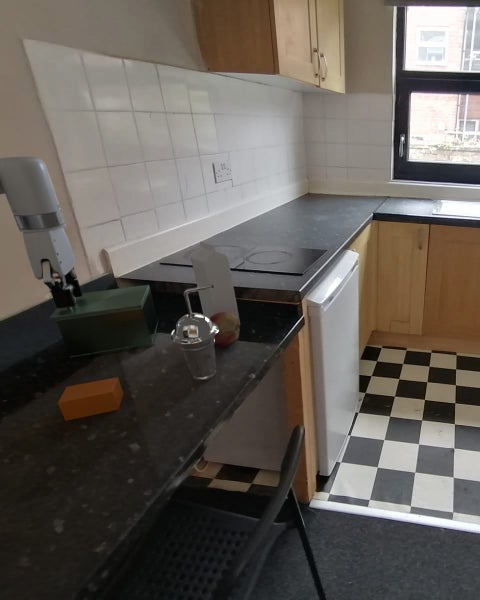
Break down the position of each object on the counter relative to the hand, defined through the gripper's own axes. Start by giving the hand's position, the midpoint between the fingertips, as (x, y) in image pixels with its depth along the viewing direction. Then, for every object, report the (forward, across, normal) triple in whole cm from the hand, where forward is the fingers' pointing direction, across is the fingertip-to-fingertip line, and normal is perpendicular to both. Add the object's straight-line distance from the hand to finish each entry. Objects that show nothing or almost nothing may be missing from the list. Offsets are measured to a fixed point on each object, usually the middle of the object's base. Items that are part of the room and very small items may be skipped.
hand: (70, 301), depth 89 cm
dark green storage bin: (+11, 0, +6) cm, 13 cm away
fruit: (+12, +12, +30) cm, 35 cm away
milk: (+12, +2, +30) cm, 32 cm away
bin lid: (+1, 0, +6) cm, 6 cm away
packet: (+11, +27, +8) cm, 30 cm away
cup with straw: (+12, +24, +26) cm, 37 cm away
